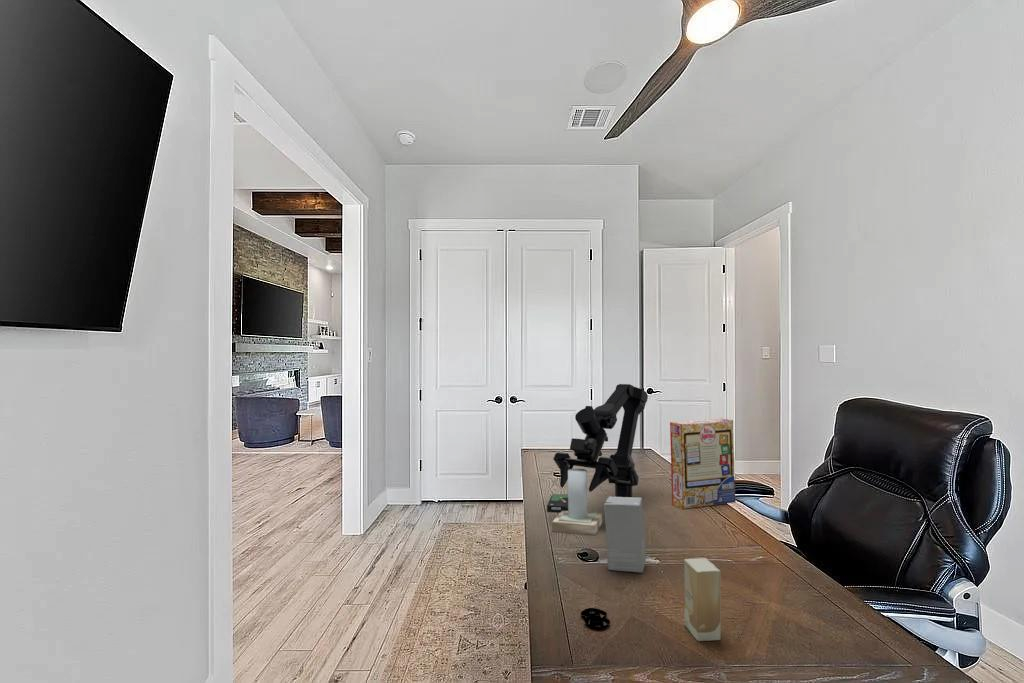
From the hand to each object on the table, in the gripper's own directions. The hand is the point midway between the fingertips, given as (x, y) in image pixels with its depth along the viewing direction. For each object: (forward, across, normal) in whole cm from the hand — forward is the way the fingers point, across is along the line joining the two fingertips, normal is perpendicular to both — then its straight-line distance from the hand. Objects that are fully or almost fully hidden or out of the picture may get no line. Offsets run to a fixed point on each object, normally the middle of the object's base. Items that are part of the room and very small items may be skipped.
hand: (575, 488), depth 164 cm
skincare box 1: (+22, +24, -6) cm, 33 cm away
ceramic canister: (+5, 0, +7) cm, 8 cm away
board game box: (-24, +22, +40) cm, 51 cm away
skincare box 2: (+37, +48, -21) cm, 64 cm away
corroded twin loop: (+41, +30, -25) cm, 57 cm away
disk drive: (-4, -14, +21) cm, 26 cm away
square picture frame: (+7, 0, +9) cm, 11 cm away
